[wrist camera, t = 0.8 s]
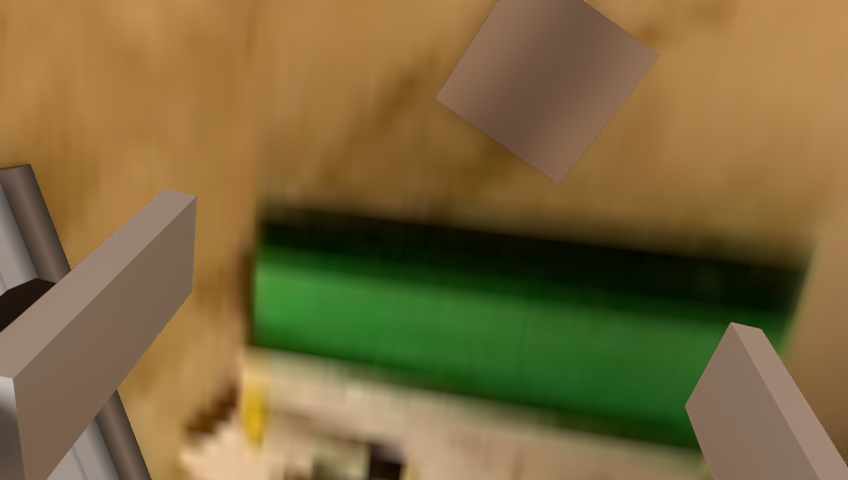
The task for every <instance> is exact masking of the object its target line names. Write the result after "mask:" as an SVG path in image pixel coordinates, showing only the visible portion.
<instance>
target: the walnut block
mask: <svg viewBox="0 0 848 480" xmlns="http://www.w3.org/2000/svg"><path fill="white" fill-rule="evenodd" d="M659 56H660V55H658V54H657V53H655V52H654V51H653V50H651V49H650V48H648V47H647V46H646V45H644V44H643V43H641V42H640V41H639V40H637V39H636V38H634V37H633V36H632V35H630V34H629V33H627V32H626V31H624V30H623V29H622V28H620V27H619V26H617V25H616V24H615V23H613V22H612V21H610V20H609V19H608V18H606V17H605V16H603V15H602V14H601V13H599V12H598V11H596V10H595V9H594V8H592V7H591V6H589V5H588V4H586V3H585V2H584V1H582V0H498V2H497V4H496V5H495V7H494V8H493V10H492V11H491V13H490V14H489V16H488V17H487V19H486V21H485V22H484V24H483V25H482V27H481V28H480V30H479V31H478V33H477V35H476V36H475V38H474V39H473V41H472V42H471V44H470V45H469V47H468V49H467V50H466V52H465V53H464V55H463V56H462V58H461V59H460V61H459V62H458V64H457V66H456V67H455V69H454V70H453V72H452V73H451V75H450V76H449V78H448V80H447V81H446V83H445V84H444V86H443V87H442V89H441V90H440V92H439V94H438V95H437V97H436V98H435V99H436V100H437V101H439V102H440V103H441V104H443V105H444V106H446V107H447V108H449V109H450V110H451V111H453V112H454V113H456V114H457V115H459V116H460V117H462V118H463V119H464V120H466V121H467V122H469V123H470V124H472V125H473V126H475V127H476V128H477V129H479V130H480V131H482V132H483V133H485V134H486V135H488V136H489V137H490V138H492V139H493V140H495V141H496V142H498V143H499V144H501V145H502V146H503V147H505V148H506V149H508V150H509V151H511V152H512V153H513V154H515V155H516V156H518V157H519V158H521V159H522V160H524V161H525V162H526V163H528V164H529V165H531V166H532V167H534V168H535V169H537V170H538V171H539V172H541V173H542V174H544V175H545V176H547V177H548V178H550V179H551V180H552V181H554V182H555V183H557V184H558V185H559V183H560V182H561V181H562V180H563V178H564V177H565V176H566V175H567V173H568V172H569V171H570V169H571V168H572V167H573V166H574V164H575V163H576V162H577V160H578V159H579V158H580V157H581V155H582V154H583V153H584V152H585V150H586V149H587V148H588V146H589V145H590V144H591V143H592V141H593V140H594V139H595V138H596V136H597V135H598V134H599V132H600V131H601V130H602V129H603V127H604V126H605V125H606V123H607V122H608V121H609V120H610V118H611V117H612V116H613V115H614V113H615V112H616V111H617V109H618V108H619V107H620V106H621V104H622V103H623V102H624V101H625V99H626V98H627V97H628V95H629V94H630V93H631V92H632V90H633V89H634V88H635V86H636V85H637V84H638V83H639V81H640V80H641V79H642V78H643V76H644V75H645V74H646V72H647V71H648V70H649V69H650V67H651V66H652V65H653V64H654V62H655V61H656V60H657V58H658V57H659Z"/></svg>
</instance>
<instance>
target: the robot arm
mask: <svg viewBox="0 0 848 480" xmlns="http://www.w3.org/2000/svg"><path fill="white" fill-rule="evenodd" d="M196 201H197V196H194V195H190V194H186V193H181V192H177V191H173V190H169V189H164V190H163V191H162V192H161V193H160V194H158V195H157V196H156V197H155V198H154V199H153V200H152V201H150V202H149V203H148V204H147V205H146V206H145V207H144V208H142V209H141V210H140V211H139V212H138V213H137V214H136V215H134V216H133V217H132V218H131V219H130V220H129V221H128V222H126V223H125V224H124V225H123V226H122V227H121V228H120V229H118V230H117V231H116V232H115V233H114V234H113V235H112V236H110V237H109V238H108V239H107V240H106V241H105V242H104V243H102V244H101V245H100V246H99V247H98V248H97V249H96V250H94V251H93V252H92V253H91V254H90V255H89V256H88V257H86V258H85V259H84V260H83V261H82V262H81V263H80V264H78V265H77V266H76V267H75V268H74V269H73V270H72V271H70V272H69V273H68V274H67V275H66V276H65V277H64V278H62V279H61V280H60V281H59V282H58V283H55V282H51V281H46V280H42V279H38V278H35V279H32V280H30V281H27V282H25V283H23V284H20V285H18V286H15V287H13V288H11V289H8V290H7V291H6V292H4V293H3V294H2V295H1V296H0V480H47V478H48V477H49V476H50V474H51V473H52V472H53V471H54V469H55V468H56V467H57V465H58V464H59V463H60V462H61V460H62V459H63V458H64V456H65V455H66V454H67V452H68V451H69V450H70V449H71V447H72V446H73V445H74V443H75V442H76V441H77V440H78V438H79V437H80V436H81V434H82V433H83V432H84V430H85V429H86V428H87V427H88V425H89V424H90V423H91V421H92V420H93V419H94V418H95V416H96V415H97V414H98V412H99V411H100V410H101V408H102V407H103V406H104V405H105V403H106V402H107V401H108V399H109V398H110V397H111V396H112V394H113V393H114V392H115V390H116V389H117V388H118V386H119V385H120V384H121V383H122V381H123V380H124V379H125V377H126V376H127V375H128V374H129V372H130V371H131V370H132V368H133V367H134V366H135V364H136V363H137V362H138V361H139V359H140V358H141V357H142V355H143V354H144V353H145V352H146V350H147V349H148V348H149V346H150V345H151V344H152V342H153V341H154V340H155V339H156V337H157V336H158V335H159V333H160V332H161V331H162V330H163V328H164V327H165V326H166V324H167V323H168V322H169V320H170V319H171V318H172V317H173V315H174V314H175V313H176V311H177V310H178V309H179V308H180V306H181V305H182V304H183V302H184V301H185V300H186V298H187V297H188V296H189V295H190V293H191V292H192V284H193V263H194V242H195V221H196ZM685 408H686V411H687V413H688V416H689V419H690V421H691V424H692V426H693V429H694V432H695V434H696V437H697V440H698V442H699V445H700V448H701V450H702V453H703V455H704V458H705V461H706V463H707V466H708V469H709V471H710V474H711V477H712V479H713V480H848V465H846V463H845V462H844V460H843V459H842V457H841V455H840V454H839V452H838V451H837V449H836V447H835V446H834V444H833V443H832V441H831V439H830V438H829V436H828V435H827V433H826V431H825V430H824V428H823V427H822V425H821V423H820V422H819V420H818V419H817V417H816V415H815V414H814V412H813V411H812V409H811V408H810V406H809V404H808V403H807V401H806V400H805V398H804V396H803V395H802V393H801V392H800V390H799V388H798V387H797V385H796V384H795V382H794V380H793V379H792V377H791V376H790V374H789V372H788V371H787V369H786V368H785V366H784V364H783V363H782V361H781V360H780V358H779V356H778V355H777V353H776V352H775V350H774V348H773V347H772V345H771V344H770V342H769V340H768V339H767V337H766V336H765V334H764V332H763V331H762V329H758V328H754V327H750V326H745V325H741V324H737V323H733V322H731V323H730V324H729V326H728V328H727V330H726V332H725V334H724V335H723V337H722V339H721V341H720V343H719V345H718V346H717V348H716V350H715V352H714V354H713V356H712V357H711V359H710V361H709V363H708V365H707V367H706V368H705V370H704V372H703V374H702V376H701V378H700V379H699V381H698V383H697V385H696V387H695V389H694V390H693V392H692V394H691V396H690V398H689V399H688V401H687V403H686V405H685Z"/></svg>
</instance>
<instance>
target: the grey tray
mask: <svg viewBox="0 0 848 480" xmlns="http://www.w3.org/2000/svg"><path fill="white" fill-rule="evenodd" d="M70 271H71V269H70V266H69V264H68V261H67V259H66V256H65V253H64V251H63V248H62V246H61V243H60V240H59V238H58V235H57V233H56V230H55V227H54V225H53V222H52V220H51V217H50V214H49V212H48V209H47V206H46V204H45V201H44V199H43V196H42V193H41V191H40V188H39V186H38V183H37V180H36V178H35V175H34V173H33V170H32V167H31V165H30V164H28V165H21V166H15V167H9V168H3V169H0V296H1V295H2V294H3V293H4V292H6V291H7V290H8V289H11V288H13V287H15V286H18V285H20V284H23V283H25V282H27V281H30V280H32V279H35V278H38V279H42V280H46V281H51V282H55V283H58V282H59V281H60V280H61V279H62V278H64V277H65V276H66V275H67V274H68V273H69V272H70ZM47 480H151V477H150V475H149V472H148V470H147V467H146V464H145V462H144V459H143V456H142V454H141V451H140V449H139V446H138V443H137V441H136V438H135V436H134V433H133V430H132V428H131V425H130V423H129V420H128V417H127V415H126V412H125V410H124V407H123V404H122V402H121V399H120V397H119V394H118V391H117V389H116V390H115V392H114V393H113V394H112V396H111V397H110V398H109V399H108V401H107V402H106V403H105V405H104V406H103V407H102V408H101V410H100V411H99V412H98V414H97V415H96V416H95V418H94V419H93V420H92V421H91V423H90V424H89V425H88V427H87V428H86V429H85V430H84V432H83V433H82V434H81V436H80V437H79V438H78V440H77V441H76V442H75V443H74V445H73V446H72V447H71V449H70V450H69V451H68V452H67V454H66V455H65V456H64V458H63V459H62V460H61V462H60V463H59V464H58V465H57V467H56V468H55V469H54V471H53V472H52V473H51V474H50V476H49V477H48V478H47Z"/></svg>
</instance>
